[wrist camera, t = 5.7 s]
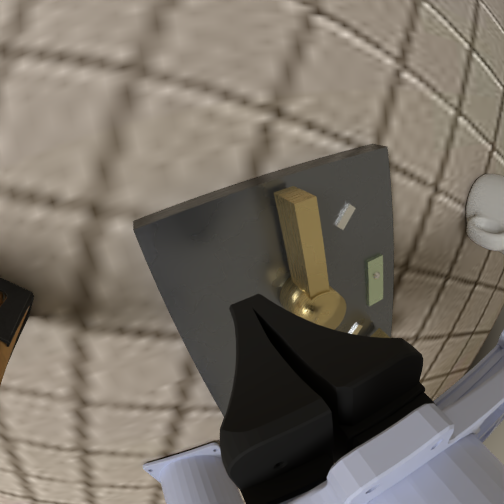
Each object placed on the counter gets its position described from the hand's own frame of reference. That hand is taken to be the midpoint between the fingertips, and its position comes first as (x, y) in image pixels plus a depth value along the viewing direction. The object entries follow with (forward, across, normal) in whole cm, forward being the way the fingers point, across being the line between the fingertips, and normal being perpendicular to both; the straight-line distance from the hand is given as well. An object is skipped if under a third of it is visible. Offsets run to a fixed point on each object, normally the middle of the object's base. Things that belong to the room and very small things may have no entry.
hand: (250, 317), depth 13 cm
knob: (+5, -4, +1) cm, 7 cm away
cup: (+7, -26, +5) cm, 27 cm away
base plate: (+7, -4, +6) cm, 10 cm away
